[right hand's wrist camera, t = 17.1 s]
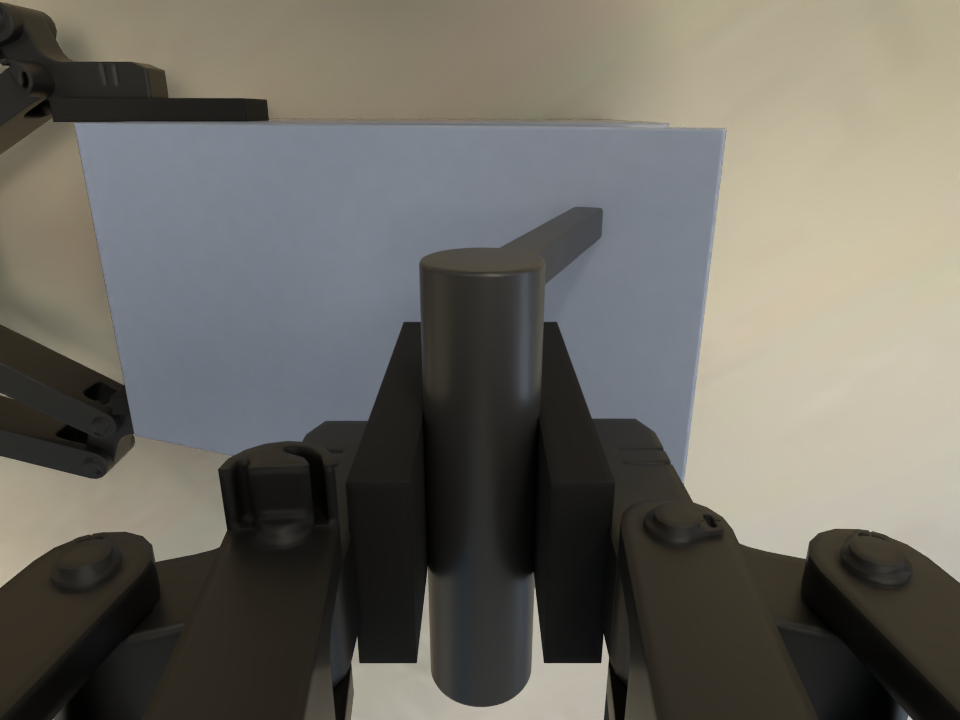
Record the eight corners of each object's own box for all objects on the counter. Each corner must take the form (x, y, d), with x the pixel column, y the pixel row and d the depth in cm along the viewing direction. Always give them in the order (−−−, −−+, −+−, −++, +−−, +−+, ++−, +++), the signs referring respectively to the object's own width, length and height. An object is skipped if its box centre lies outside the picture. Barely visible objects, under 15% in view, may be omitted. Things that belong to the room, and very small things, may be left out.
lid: (726, 128, 15) (701, 146, 7) (679, 521, 18) (626, 832, 11) (109, 122, 21) (-286, 128, 13) (161, 421, 24) (-124, 571, 16)
